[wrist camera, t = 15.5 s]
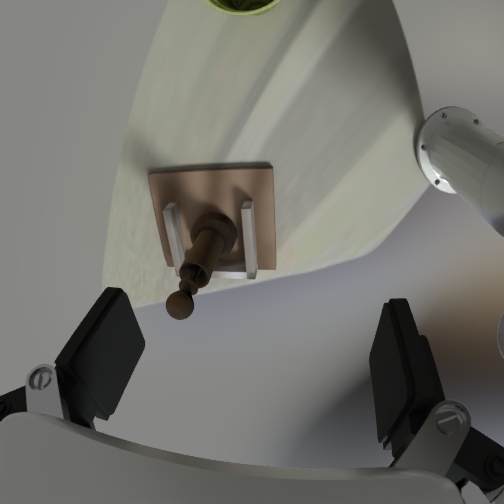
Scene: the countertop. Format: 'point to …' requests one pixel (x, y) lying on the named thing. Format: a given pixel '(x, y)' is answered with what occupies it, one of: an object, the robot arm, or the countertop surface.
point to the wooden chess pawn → (201, 260)
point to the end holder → (224, 202)
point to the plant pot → (243, 6)
